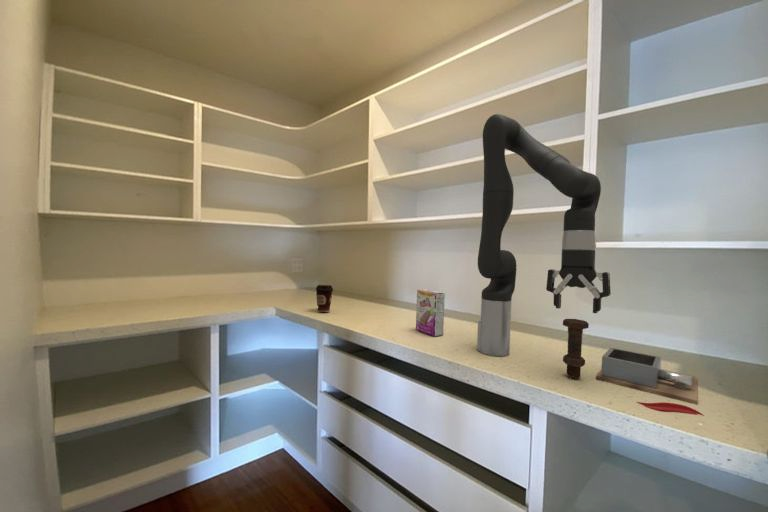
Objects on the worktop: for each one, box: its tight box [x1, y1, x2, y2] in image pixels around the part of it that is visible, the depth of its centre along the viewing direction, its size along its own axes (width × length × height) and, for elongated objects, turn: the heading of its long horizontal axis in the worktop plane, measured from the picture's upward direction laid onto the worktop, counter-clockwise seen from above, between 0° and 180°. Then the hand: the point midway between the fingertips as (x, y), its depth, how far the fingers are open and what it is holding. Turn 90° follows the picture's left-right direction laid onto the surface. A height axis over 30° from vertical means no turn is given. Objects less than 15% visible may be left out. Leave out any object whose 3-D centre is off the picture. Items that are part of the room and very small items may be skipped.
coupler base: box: [595, 368, 698, 406], centre depth 85 cm, size 19×20×1 cm
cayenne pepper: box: [636, 401, 705, 417], centre depth 69 cm, size 12×5×2 cm, turn 52°
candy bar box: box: [415, 288, 446, 337], centre depth 127 cm, size 11×5×16 cm, turn 34°
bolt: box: [562, 318, 589, 380], centre depth 85 cm, size 6×5×15 cm
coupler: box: [601, 347, 693, 391], centre depth 85 cm, size 17×18×5 cm
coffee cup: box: [315, 284, 334, 313], centre depth 164 cm, size 9×8×13 cm
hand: (576, 310), depth 85 cm, fingers open, 8 cm apart
